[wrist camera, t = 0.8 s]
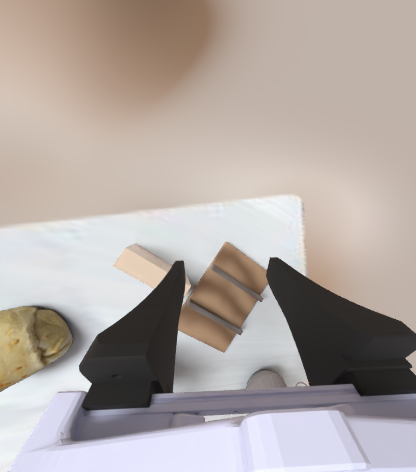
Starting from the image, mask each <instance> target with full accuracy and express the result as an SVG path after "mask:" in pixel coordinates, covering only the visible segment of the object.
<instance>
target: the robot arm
mask: <svg viewBox="0 0 416 472" xmlns="http://www.w3.org/2000/svg"><path fill="white" fill-rule="evenodd" d="M266 278H267V281H268V284H269V286H270V288H271V290H272V292H273V294H274V296H275V298H276V300H277V302H278V304H279V306H280V308H281V310H282V312H283V314H284V316H285V318H286V320H287V323H288V325H289V328H290V330H291V333H292V335H293V338H294V341H295V343H296V346H297V349H298V352H299V354H300V357H301V360H302V363H303V366H304V369H305V373H306V376H307V379H308V382H309V385H310V386H304V387H284V388H264V389H244V390H224V391H204V392H184V393H173V379H174V366H175V355H176V344H177V334H178V325H179V318H180V313H181V308H182V303H183V298H184V293H185V284H186V276H185V268H184V261H176V262H175V263H174V264H173V266H172V267H171V269H170V270H169V272H168V273H167V274H166V276H165V277H164V278H163V280H162V281H161V282H160V283H159V284H158V285H157V287H156V288H155V289H154V290H153V291H152V292H151V293H150V294H149V295H148V296H147V297H146V298H145V299H144V300H143V301H142V302H141V303H140V304H139V305H138V306H136V307H135V308H134V309H133V310H132V311H130V312H129V313H128V314H127V315H125V316H124V317H123V318H121V319H120V320H119V321H117V322H116V323H114V324H113V325H112V326H110V327H109V328H107V329H106V330H104V331H103V332H101V333H100V334H98V335H97V337H96V338H95V340H94V341H93V343H92V344H91V346H90V348H89V350H88V351H87V353H86V355H85V356H84V358H83V360H82V362H81V363H80V365H79V370H80V372H81V373H82V375H83V376H85V377H86V378H87V379H88V380H89V381H90V382H91V383H92V385H91V387H90V389H89V391H88V392H85V391H66V392H58V393H56V394H55V396H54V397H53V399H52V401H51V402H50V404H49V405H48V407H47V409H46V410H45V412H44V413H43V415H42V417H41V418H40V420H39V422H38V423H37V425H36V426H35V428H34V430H33V431H32V433H31V434H30V436H29V438H28V439H27V441H26V443H25V444H24V446H23V447H22V449H21V451H20V452H19V454H18V455H17V457H16V459H15V460H14V462H13V464H12V465H11V467H10V468H9V470H8V472H416V375H415V374H414V373H413V372H412V371H411V370H410V369H409V368H412V365H411V364H410V363H409V362H408V361H407V360H406V359H405V358H406V357H407V356H409V355H410V354H411V353H412V352H414V351H415V350H416V333H414V332H413V331H412V330H411V329H410V328H409V327H407V326H406V325H405V324H404V323H403V322H401V321H399V320H396V319H393V318H390V317H388V316H385V315H383V314H380V313H377V312H375V311H372V310H370V309H367V308H365V307H363V306H360V305H358V304H356V303H353V302H351V301H349V300H347V299H345V298H342V297H341V296H338V295H336V294H334V293H332V292H330V291H329V290H327V289H325V288H323V287H321V286H320V285H318V284H316V283H315V282H313V281H311V280H310V279H308V278H307V277H305V276H304V275H302V274H301V273H299V272H298V271H296V270H295V269H293V268H292V267H291V266H289V265H288V264H286V263H285V262H284V261H282V260H281V259H279V258H278V257H273V258H270V260H269V264H268V269H267V273H266ZM245 413H251V414H248V415H246V416H241V417H234V418H228V419H221V420H214V421H208V422H205V418H204V417H203V416H207V415H226V414H245Z"/></svg>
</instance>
